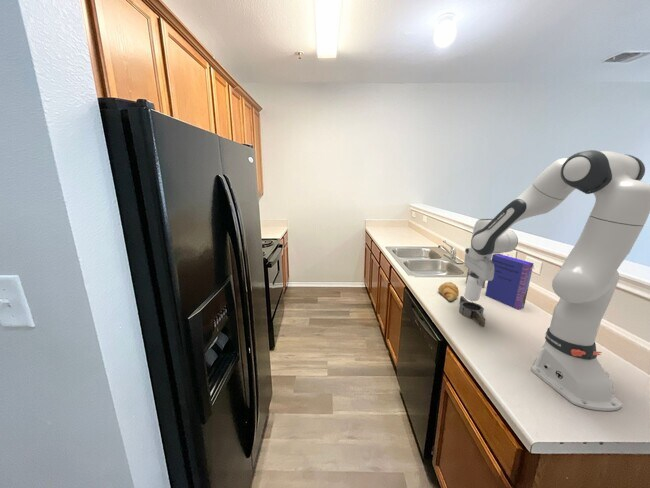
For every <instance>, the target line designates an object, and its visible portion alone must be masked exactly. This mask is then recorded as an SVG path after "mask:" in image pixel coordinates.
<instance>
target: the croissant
mask: <svg viewBox="0 0 650 488" xmlns="http://www.w3.org/2000/svg"><path fill="white" fill-rule="evenodd" d="M438 291H439V293H440V294H441V295H442V296H443V297H444V298H445V299H447V300H448V301H449V302H452V301H454V300H456V299H457V298H458V297H459V287H458V286H457V285H456V284H455V283H453V282H451V281H449V282H444V283H442V284H440V286H439V287H438Z"/></svg>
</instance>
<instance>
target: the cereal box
mask: <svg viewBox="0 0 650 488" xmlns="http://www.w3.org/2000/svg"><path fill="white" fill-rule="evenodd" d="M491 260H492V263H493V264H494V278H493V280H492V281H487V283H486V290H485V295H484V296H485V297H487V298H490V299H492V300H494V301H497V302H499V303H501V304H503V305H506V306H508V307H511V308H513V309H516V310H517V311H518V310H521V309H525V304H526V300H527V294H528V291H529V288H530V287H529V286H530V281H531V277H532V272H533V269H534V263H533V262H530V261H526V260H522V259H519V258H515V257H512V256H509V255H504V254H502V253H494V254H492V258H491Z"/></svg>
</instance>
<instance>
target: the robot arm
mask: <svg viewBox="0 0 650 488" xmlns="http://www.w3.org/2000/svg"><path fill="white" fill-rule="evenodd" d="M645 173H646V167H645V164H644V162H643V161H642V159H640V158H639V157H636V156H634V155H631V154H623V153H619V152H616V151H610V150H595V149H594V150H592V149H591V150H585V151H580V152H577V153H574V154H572V155H571V156H569V157H563V158H558V159H556V160H554V161H553V162H552V163H550V165H548V166H547V167H546V168H545V169H544V170H543V171H542V172H541V173H540V174H538V176H536V178H535V179H534V180H533V181H532V182H531V184H530V185H529V186H528V187H527V188H526V189H525V190H524V191H523V192H522V193H520V194H519V196H516V197H515V199H513V200H512V201H511V202H509V203H508V204H507V205H506V206H504V207H503V208H502V210H501V211H500V212H499V213H497V214H496V215H495V216H494V218H481V219H478V220H476V221H475V224H474V227H473V230H472V236H471V240H470V247H466V248H465V249H464V252H465V254H464V261H463V263H464V267H466V268H467V270H468V269H470V270H469V272H470V273H475V274H476V275H478V276H479V281H477V285H479V286H482V285H483V282H484V281H485V280H486V281H487V282H488V281H492V280H493V278H494V264H493V263H492V256H493V254H502V253H509V252H514V250H516V248H517V246H518V243H519V238H518V236H517V234H516V233H515V232H514V231H513V230H509V229H510V228H511V227H512V226H513V225H515V224H516V223H518V222H520V221H522V220H525V219H528V218H532V217H536V216H540V215H543V214H544V215H545V214H547V213H549V212H551V211H552V210H554V209H556V208H557V207H558V206H560V204H562V203H563V202H564V201H565V200H566V199H567V198H568V196H570V195H571V194H572V193H573V192H574V191H575V190H578V191H580V192H582V193H584V194H586V195H589V194H590V195H591V194H593V195H594V197H595V202H594V206H593V208H592V209H591V212H590V214H589V216H588V218H587V220H586V223H585V225H584V227H583V230H582V232H581V233H580V235H579V238H578V240H577V241H576V243H575V245H574V246H573V248H572V249H571V251H569V254H568V255H567V256H566V259H565V260H564V262H562V263H563V264H561V267H560V268H559V270H558V272H557V273H556V274H555V276H554V277H553V279H552V281H551V282H552V283H551V286H552V290H553V291H554V293H555V294H556V296H558V298H559V300H558V302H557V303H556V305H555V306H554V309H553V313H552V317H551V320H550V325H549V327H547V329H546V330H547V331H546V333H545V336H544V339H545V342H544V343H543V345H542V347H541V348H540V350H539V353H538V355H537V358H536V359H535V360H534V363H533V365H532V366H531V368H530V371H531V372H532V373H534V374H535V375H536V376H538V377H539V378H540V379H541V380H543V381H544V382H545V383H547V385H549V387H551V388H552V389H554V390H555V391H556V392H557V393H559V394H560V395H561V396H563V398H564V399H566V400H567V401H569V402H570V403H571V404H573V405H576V406H577V407H579V408H580V407H581V408H584V409H589V410H595V411H604V412H612V411H613V412H614V411H617V410H620V409H621V408H622V406H623V403H622V402H621V401H620V400H619V399H618V398H617V397H616V396H615V395H614V394H613V391H614V383H613V381H612V379H611V378H610V374H609V372H607V371H605V368H604V367H603V366H602V364H601V363H600V361H599V359H598V358H597V357H598V356H601V355H602V351H597V344H596V338H597V335H598V332H599V328H600V325H601V322H602V319H603V317H604V316H605V313H606V311H607V309H608V307H609V305H610V303H611V300H612V298H613V296H614V293H615V291H616V288H617V286H618V283H619V280H620V274H619V271H618V269H619V268H620V266H621V265H622V264H623V262H624V261H625V259H626V257H628V255H629V254H630V252H631V250H632V249H633V247H634V245H635V243H636V241H637V239H638V237H639V236H640V234H641V232H642V230H643V228H644V227H645V224H646V222H647V220H648V218H649V215H650V184H649V183H648V182H645V181H642V179H643V177H644V176H645ZM486 281H485V282H486Z"/></svg>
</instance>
